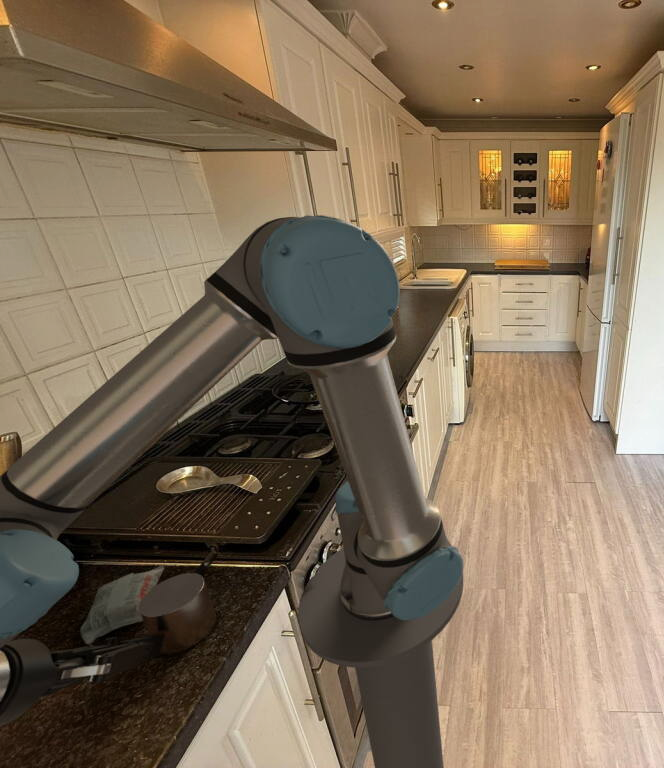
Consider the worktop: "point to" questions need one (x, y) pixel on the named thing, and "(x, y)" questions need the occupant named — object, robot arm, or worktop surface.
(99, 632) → the packaged food
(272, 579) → the worktop surface
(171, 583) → the saucepan
